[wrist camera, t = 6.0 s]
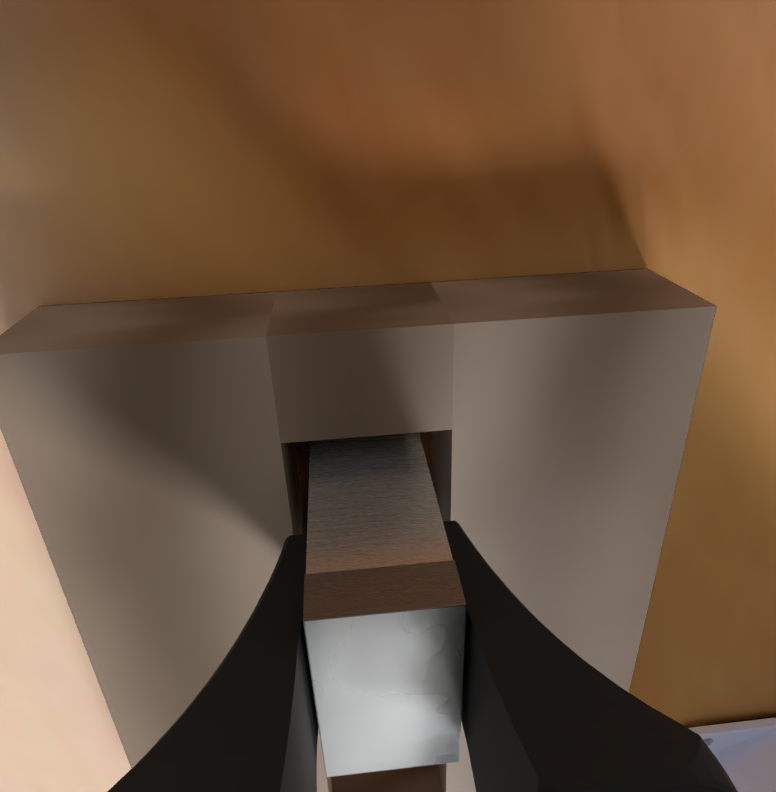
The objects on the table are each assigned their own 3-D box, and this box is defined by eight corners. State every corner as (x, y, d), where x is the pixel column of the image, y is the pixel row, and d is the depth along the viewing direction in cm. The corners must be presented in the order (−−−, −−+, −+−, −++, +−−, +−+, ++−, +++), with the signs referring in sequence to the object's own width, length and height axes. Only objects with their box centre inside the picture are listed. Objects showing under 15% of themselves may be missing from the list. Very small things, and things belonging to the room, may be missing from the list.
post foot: (647, 268, 15) (716, 306, 13) (566, 750, 24) (596, 832, 22) (39, 306, 14) (-28, 356, 11) (193, 795, 23) (177, 886, 21)
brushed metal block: (410, 396, 16) (466, 604, 10) (412, 525, 18) (459, 761, 12) (310, 404, 16) (303, 620, 9) (324, 533, 18) (325, 777, 12)
